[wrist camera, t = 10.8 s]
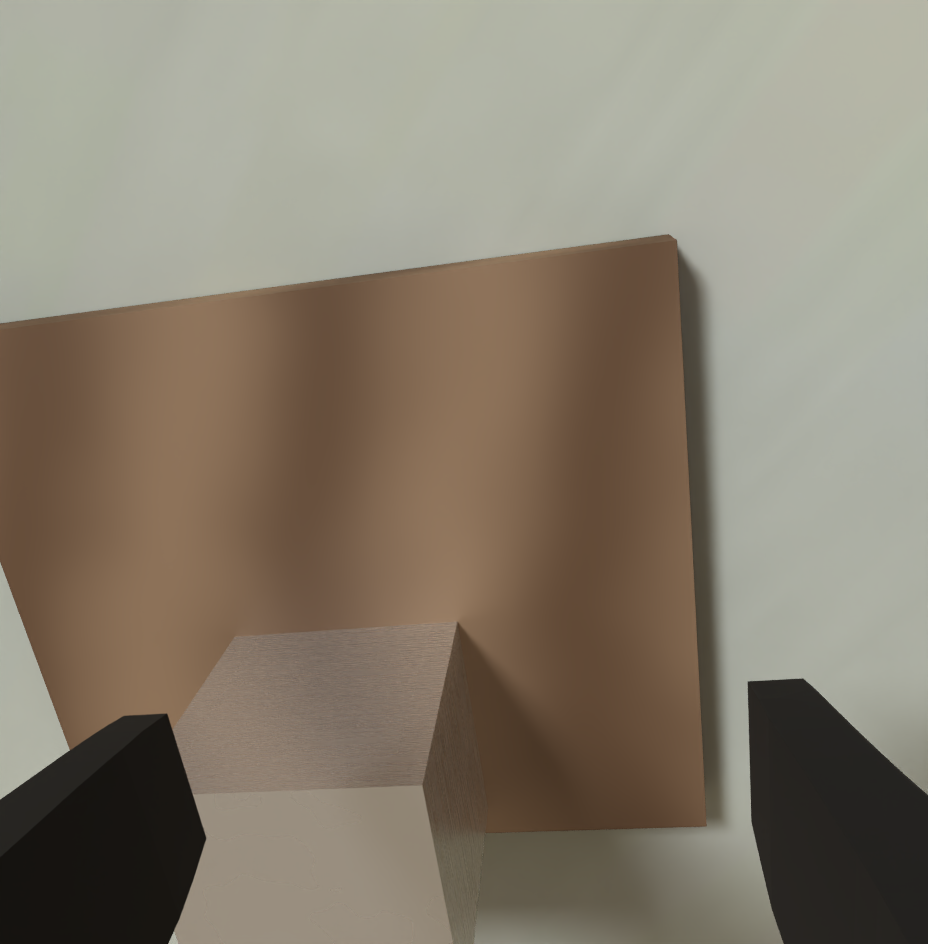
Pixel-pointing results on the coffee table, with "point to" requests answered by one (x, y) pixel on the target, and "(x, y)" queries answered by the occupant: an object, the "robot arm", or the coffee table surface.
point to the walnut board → (381, 506)
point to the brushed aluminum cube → (336, 790)
